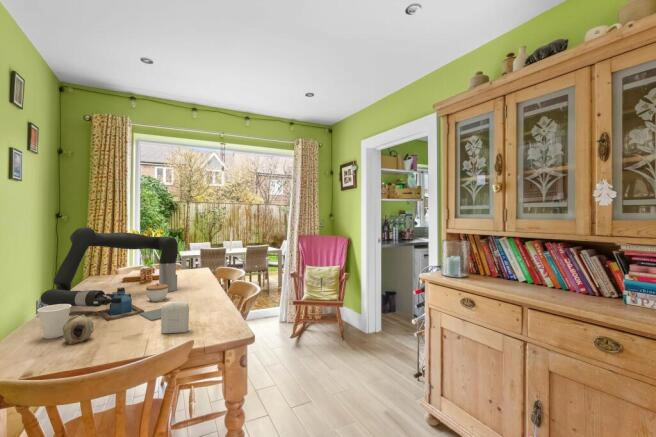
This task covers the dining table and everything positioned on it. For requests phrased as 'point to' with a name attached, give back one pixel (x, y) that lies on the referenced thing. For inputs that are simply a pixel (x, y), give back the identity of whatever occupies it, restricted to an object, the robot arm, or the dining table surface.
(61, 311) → the cup
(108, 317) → the walnut collar
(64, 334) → the hollow beige lump
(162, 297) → the lidded jar
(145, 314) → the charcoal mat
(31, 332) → the dining table surface
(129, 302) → the perfume bottle
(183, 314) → the photo printer
